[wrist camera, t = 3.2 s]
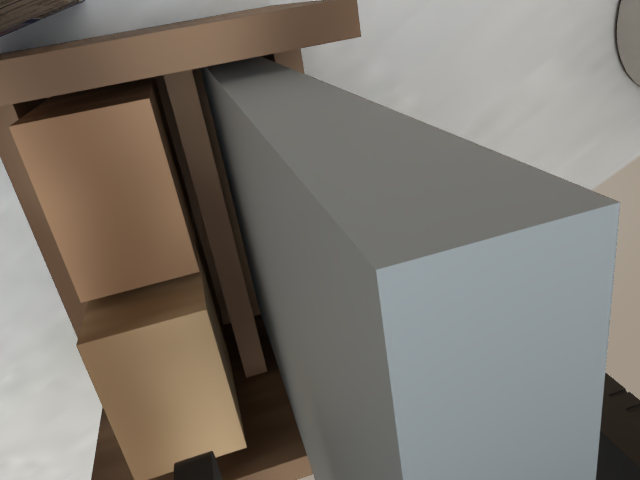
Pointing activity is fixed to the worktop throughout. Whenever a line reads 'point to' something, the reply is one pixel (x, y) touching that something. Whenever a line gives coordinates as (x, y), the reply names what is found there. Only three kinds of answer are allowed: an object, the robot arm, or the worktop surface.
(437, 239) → the sheet
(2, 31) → the beverage box
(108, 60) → the rack
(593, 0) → the worktop surface
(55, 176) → the offcut
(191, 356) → the offcut
